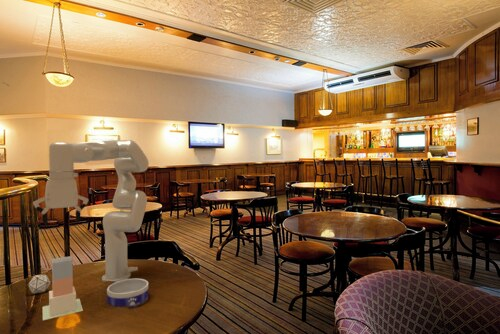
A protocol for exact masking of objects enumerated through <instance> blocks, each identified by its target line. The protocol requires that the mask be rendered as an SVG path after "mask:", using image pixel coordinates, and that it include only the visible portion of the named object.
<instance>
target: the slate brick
mask: <svg viewBox="0 0 500 334" xmlns="http://www.w3.org/2000/svg"><path fill="white" fill-rule="evenodd" d="M51 262H52V263H51V264H52V265H51V269H52V271H51V272H52V273H51V274H52V276H53V280H57V279H62V278H68V277H74V276H73V273H74V271H73V270H74V269H73V267H74V266H73V262H74V261H73V257H72V255H70V256H64V257H56V258H52V259H51ZM52 276H51V277H52Z"/></svg>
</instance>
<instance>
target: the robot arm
mask: <svg viewBox="0 0 500 334" xmlns="http://www.w3.org/2000/svg"><path fill="white" fill-rule="evenodd" d="M48 148H49V149H48V152H49V153H48V157H49V160H48V161H49V163H48V164H49V167H48V169H49V171H48V172H49V173H48V174H49V178H48V179H49V180H47V181H46V184H45V190H44V191H45V192H44V196H43V197H40V198H38V199H36V200H35V201H33V202H32V205H33V207H34V208H35V209H36V211H38V212H39V213H41V215H42V224H44V226H48V211H49V210H50V209H60V208H61V209H62V208H64V209H65V208H74V209H75V222H76V223H79V222H80V221H79V220H81V212H82V210H84V208H86V205H87V204H88V203H89V198H87V197H84V196H82V195H79V194H78V187H77V186H78V185H77V180H76V179H74V178H77V177H79V173H78V172H74V168H75V167H74V166H75V165H74V163H75V164H83V163H84V164H85V163H88V162H97V161H107V160H114V161H113V166H114V169H115V171H116V174H117V178H118V182H117V187H116V189H115V192H114V196H113V199H112V206H113V208H115V210H114V211H109V212H107V213H106V214H105V215H104V216H103V218H102V227H103V231H104V242H105V245H104V247H105V248H104V249H105V250H104V254H105V256H104V257H105V258H104V261H105V264H104V267H105V268H104V269H105V274H103V275H102V277H101V281H102V282H112V283H115V282H118V281H121V280H125V279H131V275H132V274H131V273H132V272H138V271H139V269H138V266H128V238H127V236H126V233H136V232H138V231H139V230H140V228H141V226H142V223H143V219H144V216H145V212H146V209H147V204H148V203H147V202H148V198H147V194H146V193H145V192H144V191H142V190H136V187H137V180H136V178H135V176H134V175H133V174H132V173H142V172H146V171H147V170H148V168H149V160H148V157H147V155H146V154H145V153H144V151H143V150H142V148H141V146H139V144H138V143H137V142H136V141H134V140H132V139H128V140H127V139H120V140H119V139H116V140H97V141H95V140H94V141H86V142H73V143H70V142H57V141H55V142H52V143H50V144H49V147H48ZM79 200H81V201H83V202H82V203H81V205H80V206H79V205H78V204H79ZM42 202H44V205H45V207H41V206H40V205H39V204H40V203H42Z"/></svg>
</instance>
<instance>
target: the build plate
mask: <svg viewBox="0 0 500 334" xmlns="http://www.w3.org/2000/svg"><path fill="white" fill-rule="evenodd" d="M83 311H84V309H83V307H82V302H81V300H80V298H76V310H74V311H70V312H65V313H61V314H57V315H53V316H50V314H49V304H48V305H44V306H42V321H46V320H51V319H54V318H59V317H63V316H67V315H71V314H75V313H79V312H83Z"/></svg>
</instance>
